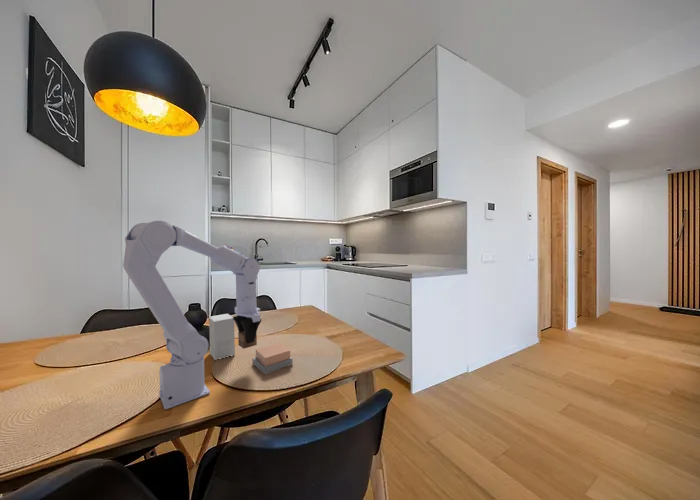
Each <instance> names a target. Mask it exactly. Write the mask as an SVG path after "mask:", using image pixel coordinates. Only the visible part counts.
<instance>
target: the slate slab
mask: <svg viewBox="0 0 700 500" xmlns="http://www.w3.org/2000/svg"><path fill="white" fill-rule="evenodd" d="M253 364H254V365H255V366H256V367H257V368H256V367H255V366H254V365H253ZM290 364H292V365H293V357H291V356H290V359H287V360H284V361H281V362H277V363H274V364H271V365H268V366H264V365H263V364H262V363H261V362H260V361H259V360H258V359H257V358H256V356H255V357H253V358H252V365H253V366H254V367H255V368H256V369H257V370H259V369H260V370H261V371H262V372H261V371H260V370H259V371H260V372H261V373H262V374H264V375H265V374H266V375H268V373H269V374H271V373H273V371H274V372H276V370H277V371H279V370H281V368H282V369H284V368H283V367H285V368H287V367H289V366H288V365H290ZM286 366H287V367H286ZM290 366H291V365H290ZM270 372H271V373H270Z"/></svg>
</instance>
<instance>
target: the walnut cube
mask: <svg viewBox="0 0 700 500" xmlns="http://www.w3.org/2000/svg"><path fill="white" fill-rule="evenodd" d="M237 335H238V336H237V337H238V340H237V341H238V346H239V347H241V348H242V349H243V350H244V349H249V348H251V347H255V346H257V345H258V342H257V339H258V338H257V336H258V335H257V332H256V336H255V340H254V342H251V343H247V342H246V338H245V331H241V332H239V331H238V333H237Z"/></svg>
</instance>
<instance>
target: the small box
mask: <svg viewBox="0 0 700 500" xmlns="http://www.w3.org/2000/svg"><path fill="white" fill-rule="evenodd" d="M233 317H234V316H232V315H230V314H229V313H223V314H218V315H212V316H211V315H210V316H209V317H208V319H209V321H208V322H209V323H208V325H209V326H208V327H209V354H210V356H212V358H213V361H215V360H216V361H218V360H217V359H219V358H224V357H227V356H231V355H234V356H236V351H235V350H236V348H235V347H236V346H235V345H236V344H235V343H236V342H235V341H236V340H235V321H234V319H233ZM231 357H232V356H231ZM227 358H228V357H227ZM224 359H225V358H224Z"/></svg>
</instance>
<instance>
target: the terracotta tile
mask: <svg viewBox="0 0 700 500" xmlns="http://www.w3.org/2000/svg"><path fill="white" fill-rule="evenodd" d="M255 357H256V358H257V359H258V360H259V361H260V362H261V363H262V364H263V365H264V366H268V365H271V364H274V363H277V362H281V361H284V360H287V359H290V357H291V350H290V349H288V348H287V347H286V346H284V345H283V344H281V343H279V342H278V343H275V344H271V345H268V346H267V345H266V346H264V347H261V348H256V349H255Z"/></svg>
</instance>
